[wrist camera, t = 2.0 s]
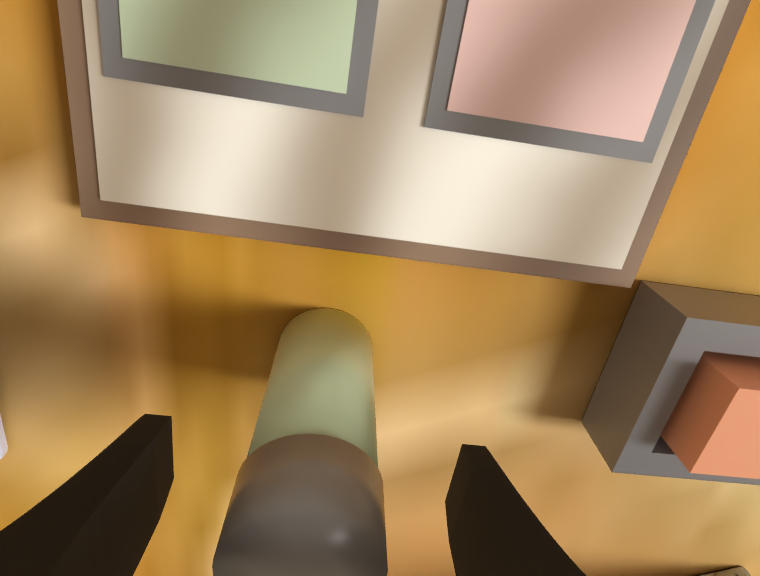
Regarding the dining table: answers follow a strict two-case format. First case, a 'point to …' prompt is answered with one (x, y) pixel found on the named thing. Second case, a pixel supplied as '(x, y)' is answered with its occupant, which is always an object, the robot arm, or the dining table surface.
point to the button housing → (664, 372)
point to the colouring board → (397, 122)
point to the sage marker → (311, 461)
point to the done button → (719, 417)
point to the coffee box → (730, 572)
